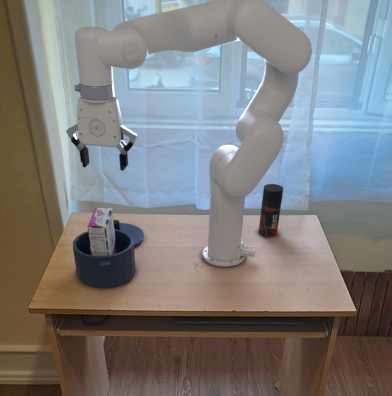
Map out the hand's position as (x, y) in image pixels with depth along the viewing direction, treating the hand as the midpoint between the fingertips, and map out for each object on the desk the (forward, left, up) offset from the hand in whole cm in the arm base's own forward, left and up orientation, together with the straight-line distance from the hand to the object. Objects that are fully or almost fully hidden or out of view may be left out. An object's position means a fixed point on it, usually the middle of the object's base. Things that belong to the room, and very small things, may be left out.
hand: (104, 167), depth 124 cm
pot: (+1, +4, -28) cm, 29 cm away
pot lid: (+4, -16, -28) cm, 32 cm away
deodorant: (-42, -30, -28) cm, 59 cm away
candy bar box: (+1, +4, -28) cm, 28 cm away
